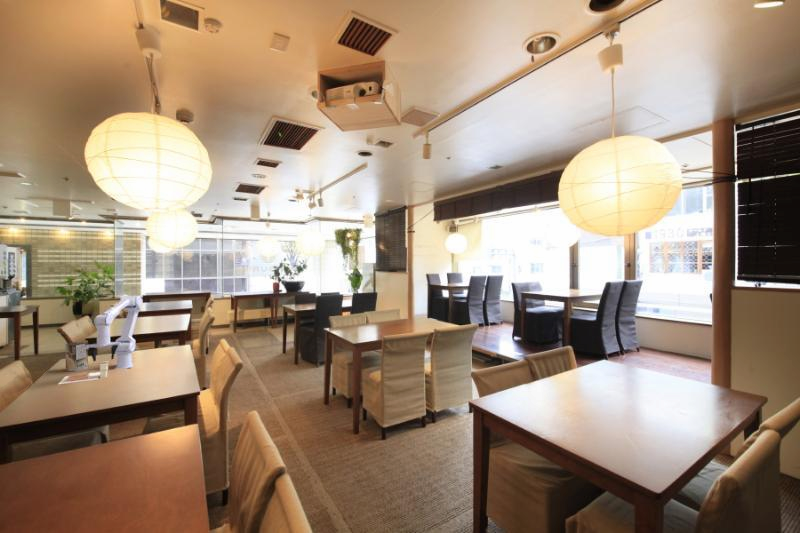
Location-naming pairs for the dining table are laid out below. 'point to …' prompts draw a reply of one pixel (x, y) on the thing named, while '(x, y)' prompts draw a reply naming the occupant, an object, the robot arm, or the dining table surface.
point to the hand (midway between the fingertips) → (103, 359)
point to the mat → (91, 377)
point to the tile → (78, 377)
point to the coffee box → (76, 356)
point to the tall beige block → (103, 369)
